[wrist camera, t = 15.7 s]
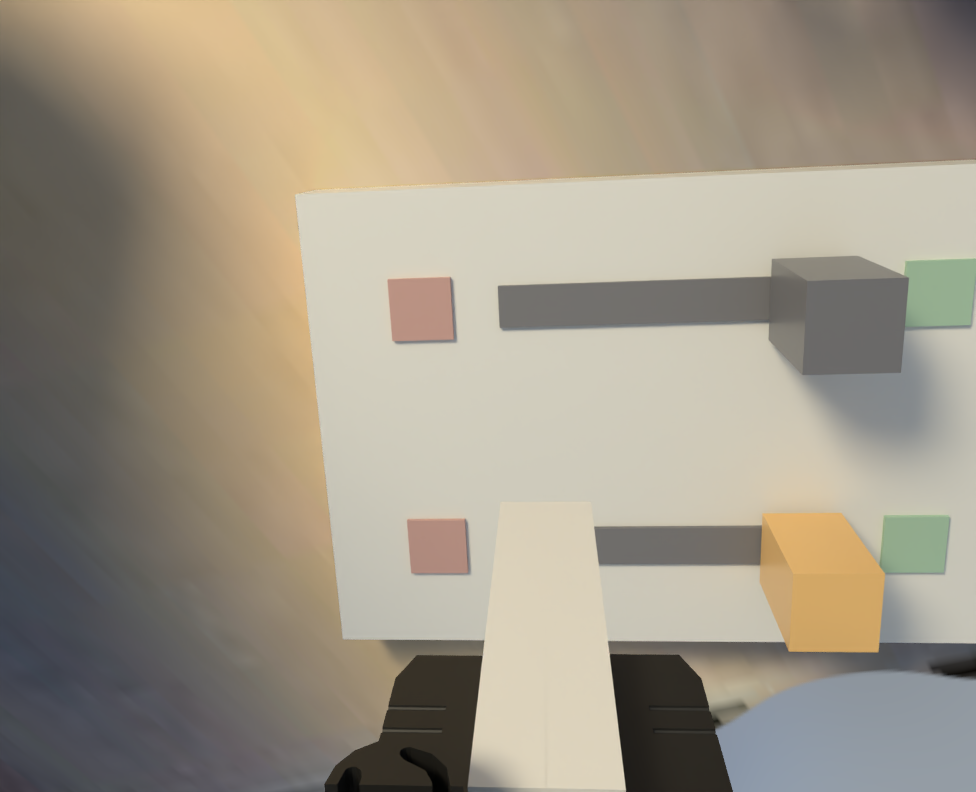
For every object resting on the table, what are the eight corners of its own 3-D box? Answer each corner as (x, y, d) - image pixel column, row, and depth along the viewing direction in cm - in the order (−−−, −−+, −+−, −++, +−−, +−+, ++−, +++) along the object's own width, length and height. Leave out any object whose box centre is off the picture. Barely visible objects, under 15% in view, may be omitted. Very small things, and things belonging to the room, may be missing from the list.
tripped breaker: (759, 582, 35) (789, 651, 31) (762, 513, 35) (793, 573, 30) (836, 581, 35) (878, 652, 30) (841, 512, 34) (885, 574, 30)
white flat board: (358, 604, 41) (341, 641, 38) (316, 189, 36) (293, 194, 33) (985, 605, 39) (1021, 646, 35) (1041, 156, 33) (1089, 158, 30)
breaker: (768, 339, 33) (802, 375, 28) (771, 258, 32) (807, 280, 27) (852, 337, 32) (901, 373, 28) (857, 255, 32) (909, 277, 27)
